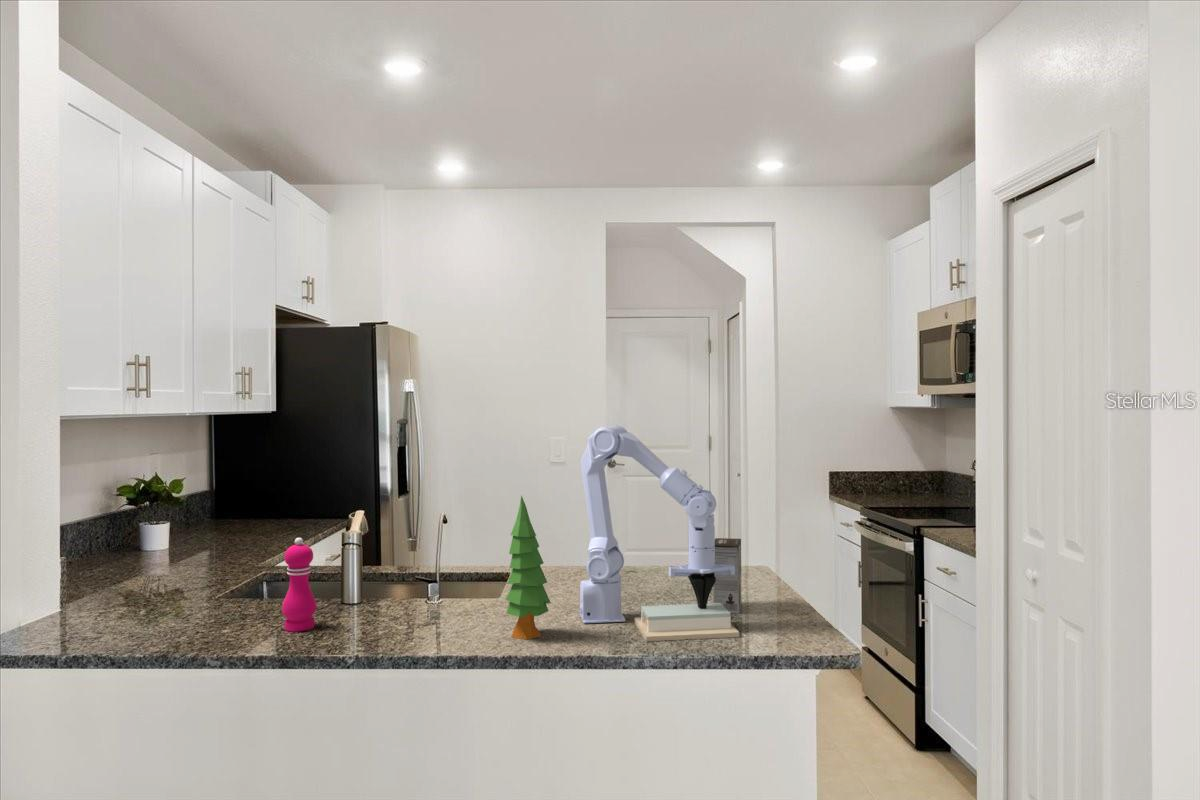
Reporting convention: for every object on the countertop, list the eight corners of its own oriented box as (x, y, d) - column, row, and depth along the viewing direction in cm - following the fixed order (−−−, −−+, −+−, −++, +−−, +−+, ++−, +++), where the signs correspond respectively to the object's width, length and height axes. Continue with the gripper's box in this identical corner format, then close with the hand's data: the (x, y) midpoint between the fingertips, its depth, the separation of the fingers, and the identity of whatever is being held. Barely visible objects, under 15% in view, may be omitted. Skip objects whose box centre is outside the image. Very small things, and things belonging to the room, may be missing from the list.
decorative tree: (510, 628, 178) (509, 492, 178) (552, 628, 178) (552, 492, 178) (503, 642, 169) (502, 498, 168) (548, 642, 168) (548, 498, 168)
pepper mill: (284, 634, 175) (283, 541, 174) (280, 625, 181) (279, 536, 181) (319, 629, 178) (318, 538, 178) (314, 621, 184) (313, 533, 184)
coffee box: (715, 602, 199) (714, 537, 199) (741, 603, 198) (741, 538, 197) (712, 612, 190) (712, 544, 190) (740, 614, 189) (740, 545, 188)
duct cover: (648, 620, 172) (648, 616, 172) (641, 609, 180) (641, 606, 180) (730, 616, 174) (730, 613, 174) (720, 606, 182) (720, 602, 182)
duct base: (646, 641, 169) (646, 624, 169) (634, 622, 183) (634, 606, 183) (739, 637, 171) (739, 620, 171) (720, 618, 185) (720, 603, 185)
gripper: (673, 551, 173) (674, 614, 174) (739, 548, 175) (739, 611, 176) (666, 545, 180) (666, 605, 181) (729, 542, 182) (729, 602, 183)
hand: (702, 608), depth 179 cm, fingers closed, pressing on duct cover
